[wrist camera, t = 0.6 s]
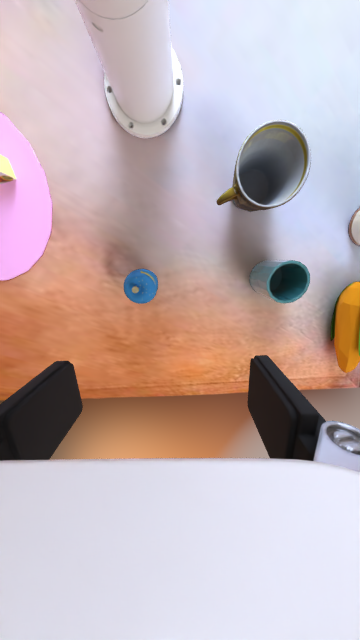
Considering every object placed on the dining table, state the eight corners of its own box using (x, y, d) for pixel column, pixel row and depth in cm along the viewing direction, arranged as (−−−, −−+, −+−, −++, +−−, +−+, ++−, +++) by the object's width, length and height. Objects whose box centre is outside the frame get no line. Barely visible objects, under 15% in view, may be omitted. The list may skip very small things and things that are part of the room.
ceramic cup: (265, 145, 33) (297, 100, 24) (284, 203, 36) (321, 182, 26) (198, 187, 36) (203, 161, 26) (221, 239, 38) (234, 232, 29)
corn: (406, 281, 32) (383, 382, 38) (368, 277, 40) (354, 362, 45) (358, 286, 33) (342, 384, 39) (329, 281, 40) (320, 364, 46)
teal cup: (243, 272, 40) (259, 276, 31) (273, 253, 39) (299, 251, 30) (258, 300, 42) (278, 310, 33) (288, 282, 40) (316, 288, 32)
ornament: (169, 281, 41) (161, 294, 27) (150, 296, 42) (133, 315, 28) (153, 261, 40) (137, 262, 25) (134, 276, 41) (108, 286, 26)
